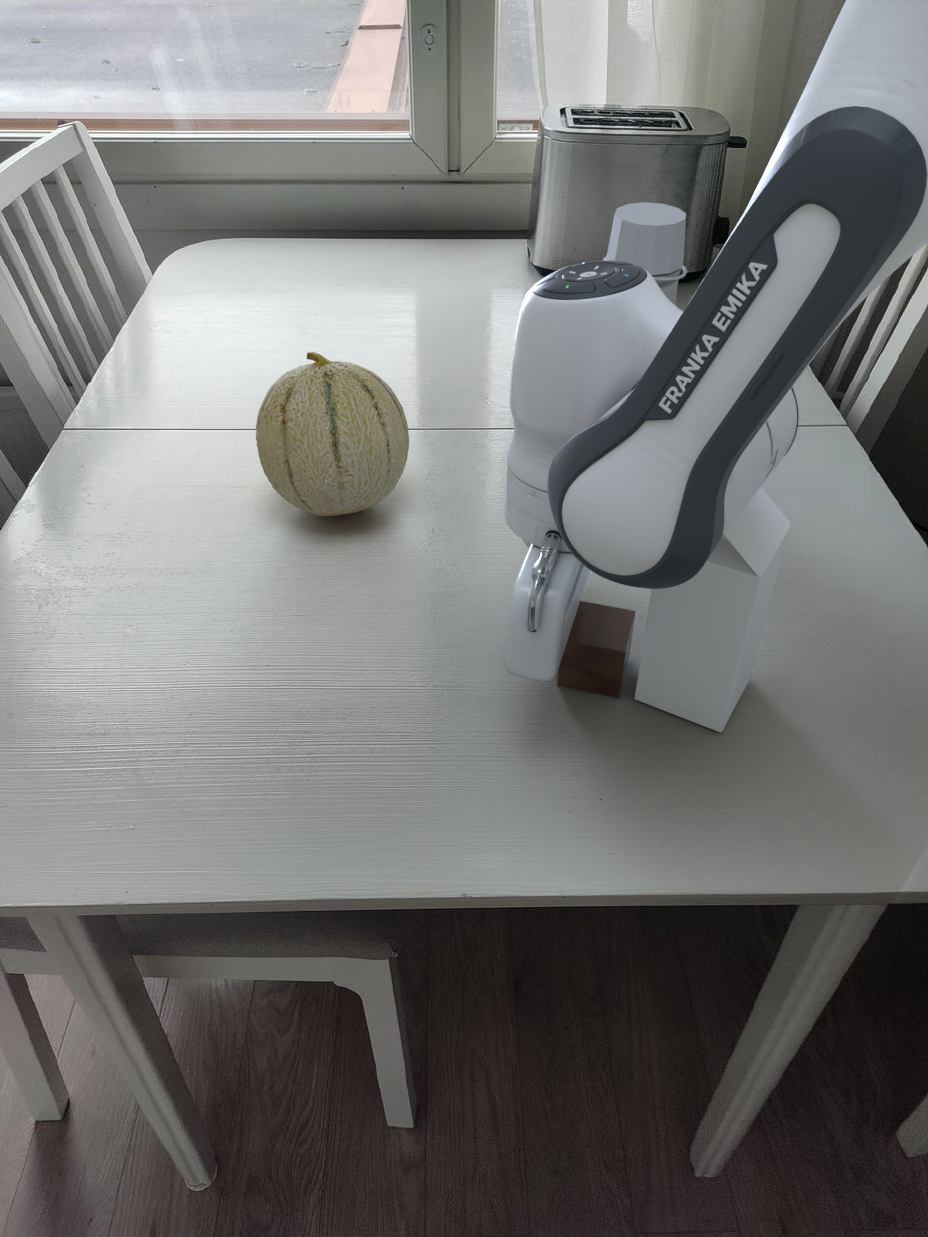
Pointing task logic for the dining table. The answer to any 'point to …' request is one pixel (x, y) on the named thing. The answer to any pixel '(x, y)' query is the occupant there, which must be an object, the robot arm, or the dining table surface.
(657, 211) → the water bottle
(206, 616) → the dining table surface
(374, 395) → the cantaloupe
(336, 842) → the dining table surface
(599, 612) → the walnut block
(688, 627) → the milk carton
